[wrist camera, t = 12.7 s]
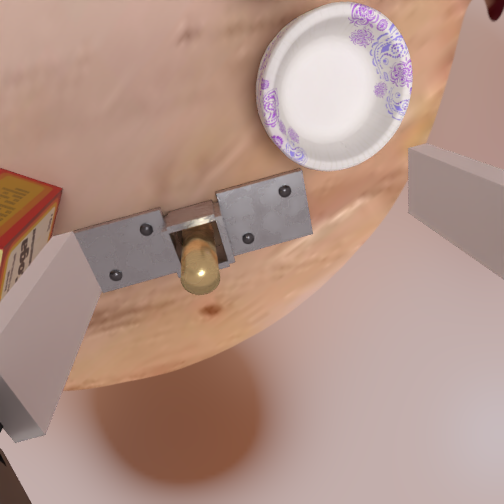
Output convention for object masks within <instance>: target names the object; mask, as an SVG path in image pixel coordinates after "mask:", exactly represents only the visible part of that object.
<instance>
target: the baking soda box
mask: <svg viewBox="0 0 504 504" xmlns="http://www.w3.org/2000/svg"><path fill="white" fill-rule="evenodd" d="M62 189H63V188H59V187H56V186H53V185H50V184H47V183H44V182H41V181H38V180H35V179H32V178H29V177H26V176H23V175H20V174H17V173H14V172H11V171H8V170H5V169H2V168H0V302H1V300H2V299H3V298H4V297H5V295H6V294H7V293H8V292H9V290H10V289H11V288H12V287H13V285H14V284H15V283H16V282H17V280H18V279H19V278H20V277H21V275H22V274H23V273H24V272H25V270H26V269H27V268H28V267H29V265H30V264H31V263H32V261H33V260H34V259H35V258H36V256H37V255H38V254H39V253H40V251H41V250H42V249H43V248H44V246H45V245H46V244H47V243H48V241H49V240H50V239H51V236H52V232H53V227H54V223H55V219H56V215H57V210H58V206H59V202H60V197H61V193H62Z"/></svg>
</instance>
